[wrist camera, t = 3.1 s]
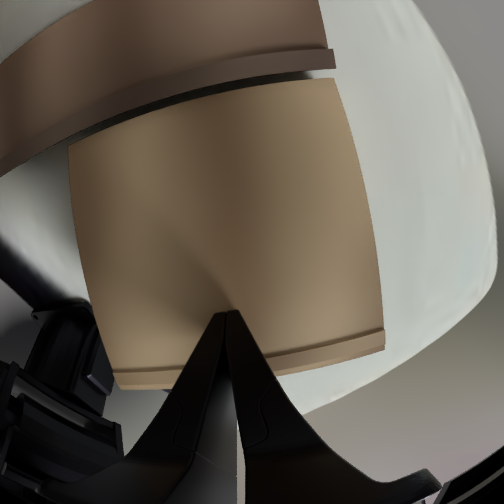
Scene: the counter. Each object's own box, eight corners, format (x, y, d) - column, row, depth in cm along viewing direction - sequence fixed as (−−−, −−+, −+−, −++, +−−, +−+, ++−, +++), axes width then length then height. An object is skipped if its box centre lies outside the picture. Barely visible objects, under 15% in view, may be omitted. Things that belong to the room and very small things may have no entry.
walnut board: (16, 166, 10) (-5, 180, 9) (-6, 82, 7) (-30, 88, 6) (319, 69, 10) (336, 68, 8) (296, -35, 7) (308, -51, 5)
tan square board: (133, 374, 11) (119, 390, 10) (86, 153, 11) (66, 145, 9) (371, 336, 11) (385, 350, 9) (325, 93, 10) (333, 76, 9)
